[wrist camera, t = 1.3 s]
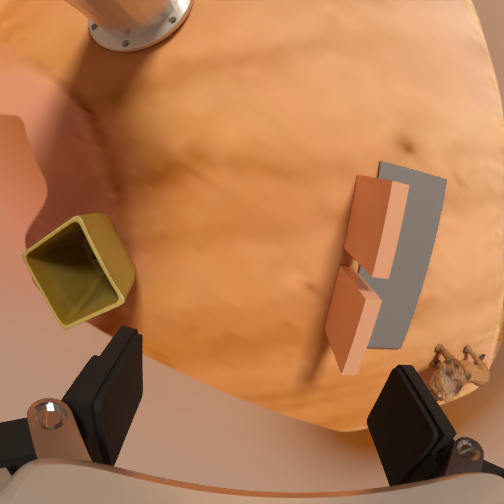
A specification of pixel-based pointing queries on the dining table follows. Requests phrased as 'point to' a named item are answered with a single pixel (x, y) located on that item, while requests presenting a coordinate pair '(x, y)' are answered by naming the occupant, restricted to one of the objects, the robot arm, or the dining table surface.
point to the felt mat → (406, 254)
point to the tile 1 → (351, 319)
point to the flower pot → (81, 269)
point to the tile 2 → (376, 223)
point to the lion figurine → (456, 374)
